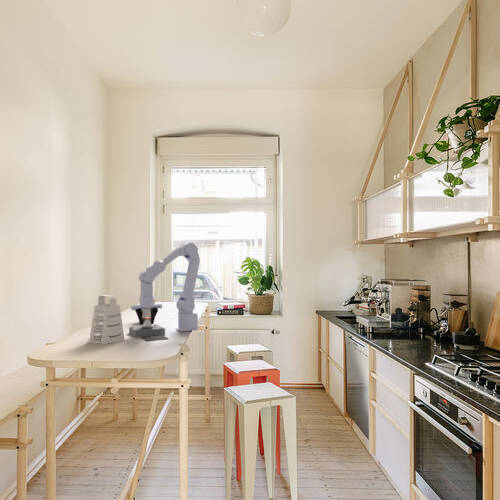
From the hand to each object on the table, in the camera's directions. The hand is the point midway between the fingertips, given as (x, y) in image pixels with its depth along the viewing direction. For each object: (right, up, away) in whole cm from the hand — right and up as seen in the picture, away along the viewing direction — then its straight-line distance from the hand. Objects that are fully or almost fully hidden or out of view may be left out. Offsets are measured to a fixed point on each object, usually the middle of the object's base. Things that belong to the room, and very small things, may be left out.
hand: (146, 324), depth 201 cm
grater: (-13, -5, -17) cm, 22 cm away
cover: (0, -4, 0) cm, 4 cm away
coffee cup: (-9, -5, +39) cm, 40 cm away
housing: (0, -5, 0) cm, 5 cm away
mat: (+6, -5, -10) cm, 13 cm away
